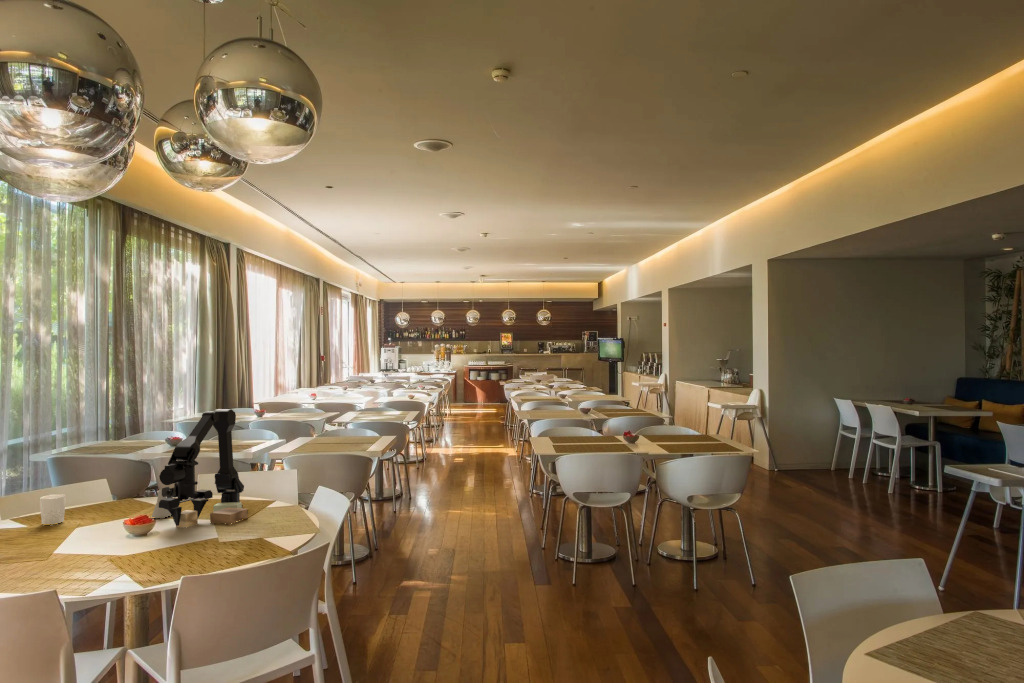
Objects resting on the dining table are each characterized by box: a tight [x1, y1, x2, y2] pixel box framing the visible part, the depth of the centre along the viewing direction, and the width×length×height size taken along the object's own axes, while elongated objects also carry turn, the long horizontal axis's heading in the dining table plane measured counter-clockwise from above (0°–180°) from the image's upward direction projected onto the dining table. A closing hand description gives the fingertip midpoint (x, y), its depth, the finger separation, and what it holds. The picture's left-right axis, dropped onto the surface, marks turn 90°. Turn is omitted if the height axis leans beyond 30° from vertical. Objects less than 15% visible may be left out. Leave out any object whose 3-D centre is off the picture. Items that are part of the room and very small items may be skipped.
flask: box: [151, 489, 172, 519], centre depth 253 cm, size 7×7×10 cm
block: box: [212, 501, 243, 512], centre depth 256 cm, size 4×9×4 cm, turn 92°
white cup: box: [39, 493, 66, 525], centre depth 246 cm, size 8×8×10 cm
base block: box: [209, 507, 249, 525], centre depth 246 cm, size 9×9×4 cm
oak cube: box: [178, 509, 199, 528], centre depth 240 cm, size 5×5×5 cm
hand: (186, 522), depth 240 cm, fingers open, 8 cm apart
